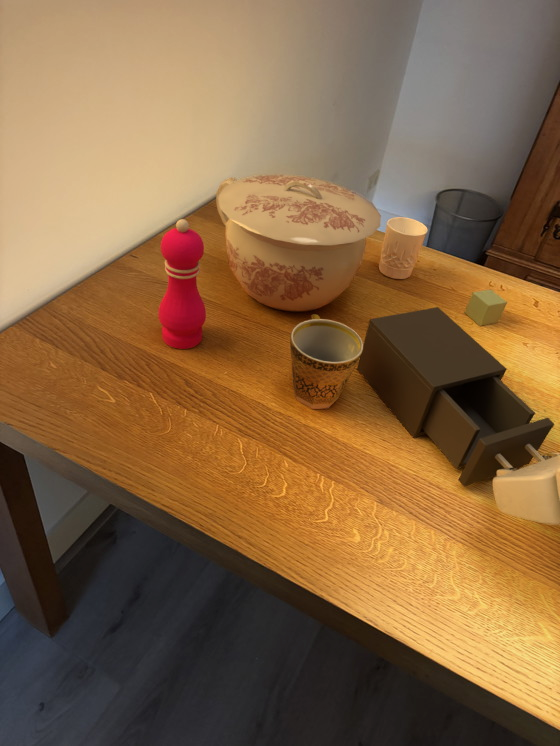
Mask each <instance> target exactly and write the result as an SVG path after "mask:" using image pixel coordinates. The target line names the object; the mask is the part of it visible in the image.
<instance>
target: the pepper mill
mask: <svg viewBox="0 0 560 746" xmlns="http://www.w3.org/2000/svg"><path fill="white" fill-rule="evenodd" d="M160 252H161V255H162V257H163V258H164V272H165V273H166V274H167V277H168V279H167V288H166V292H165V293H164V296H163V297H162V300H161V301H160V304H159V307H158V320H159V323H160V324H161V325H162V328H161V337H162V340H163V342H164V343H165V344H166V345H167V346H169V347H171V348H173V349H178V350H187V349H191V348H194V347H196V346H198V345H199V344H200V343H201V342H202V340H203V325H204V324H205V323H206V320H207V312H206V306H205V303H204V300H203V299H202V297H201V294H200V292H199V289H198V284H197V277H198V275H199V274H200V272H201V268H200V266H201V262H200V260H202V258H203V256H204V253H205V245H204V241H203V238H202V237H201V235H200V234H199V233H198V232H197V231H195V230H193V229H192V228H190V223H189V222H188V221H187V220H186V219H184V218H181V219H178V220H177V222H176V223H175V227H173V228H171V229H169V230H167V232H165V234H163V236H162V239H161V241H160Z"/></svg>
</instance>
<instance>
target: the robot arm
mask: <svg viewBox="0 0 560 746" xmlns="http://www.w3.org/2000/svg"><path fill="white" fill-rule="evenodd" d="M541 456H542V457H543V458H544V459H545V460H544V461H541V462H538V461H537V462H536V463H532V464H529V465H526V466H523V467H520V468H509V467H506V468H503V469H500V470H497V472H496V473H497V475H496V476H494V477H493V478H492V481H491V482H492V483H491V484H492V491H493V497H494V500H495V504H496V507H497V509H498V510H499V511H500V512H501V513H503V514H505V515H507V516H511V517H514V518H517V519H522V520H525V521H529V522H534V523H538V524H542V525H543V524H544V525H550V526H560V452H552V451H551V452H548V453H545V454H542V455H541Z"/></svg>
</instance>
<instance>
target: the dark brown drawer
mask: <svg viewBox="0 0 560 746" xmlns="http://www.w3.org/2000/svg"><path fill="white" fill-rule="evenodd" d="M535 415H536V412H535V411H534V410H533V409H532V408H531V407H530V406H529V405H528V404H527V403H526V402H525V401H523V400H522V399H521V398H520V397H519V396H518V395H517V394H516V393H515V392H514V391H513V390H511V388H510V387H508V385H506V384H505V383H504V382H503V381H502V379H501V380H500V379H499V378H497V377H496V376H491V377H487V378H484V379H480V380H476V381H472V382H468V383H464V384H460V385H456V386H452V387H448V388H444V389H440V390H437V391H436V393H435V396H434V398H433V401H432V403H431V406H430V408H429V411H428V413H427V416H426V418H425V420H424V423H423V425H422V429H423V430H424V431H425V433H426V435H427V436H428V437H429V439H430V440H431V441H432V442H433V444H434V445H435V446H436V447H437V448H438V449H439V450H440V452H441V453H442V454H443V456H445V457H446V458H447V460H448V461H449V462H450V463H451V465H452V466H453V467H454V468H455V469H456V470H459V469H461V468H463V470H462V472H461V473H460V476H459V478H458V481H459V482H460V484H461V485H462V486H463V487H464V488H465V487H468V486H471V485H473V484H476V483H479V482H482V481H484V480H487V479H491V478H494V477H497V473H496V472H497V470H500V469H503V468H506V467H509V468H516V469H520V468H523V467H526V466H529V465H531V462H532V460H533V459H535V460H536V461H537V463H538V462H541V461H544V460H545V459H544V458H543V457H542V455H541V454H540V452H538V451H539V450H540V448H541V446H542V444H543V443H544V442H545V440H546V438H547V436H548V435H549V434H550V432H551V431H552V429H553V427H554V425H555V423H554V421H552V420H551V419H550V418H549V417H545V418H541V419H539V420H535V421H532V419H533V418H534V416H535Z"/></svg>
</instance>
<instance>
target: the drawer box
mask: <svg viewBox="0 0 560 746" xmlns="http://www.w3.org/2000/svg"><path fill="white" fill-rule="evenodd" d="M356 366H357V367H356V370H357V371H358V372H359V374H360V375H361V376H362V377H363V378H364V380H365V381H366V382H367V384H368V385H369V386H370V387H371V388H372V389H373V390H374V391H375V393H376V394H377V396H378V397H379V398H380V400H382V401H383V403H384V404H385V405H386V406H387V408H388V409H389V411H390V412H391V413H392V414H393V415H394V416H395V417H396V419H397V420H398V421H399V423H400V424H401V425H402V426H403V428H405V430H406V431H407V432H408V433H409V435H410V436H411V437H412V438H413V439H415V438H419V437H422V436H425V435H427V434H426V433H425V431H424V430H423V429H422V425H423V423H424V420H425V418H426V416H427V413H428V411H429V408H430V406H431V403H432V401H433V398H434V396H435V393H436V391H437V390H440V389H444V388H448V387H452V386H456V385H460V384H464V383H468V382H472V381H476V380H480V379H484V378H487V377H491V376H496V377H497V378H499V379H500V380H501V381H502V379H503V378H504V376H505V374H506V372H507V370H508V368H507V367H506V366H504V365H503V364H502V363H501V362H500V361H499V360H498V359H497V358H495V356H494V355H492V354H491V353H490V352H489V351H488V350H487V349H485V347H483V346H482V345H481V344H480V343H478V341H477V340H475V339H474V337H472V336H471V335H470V334H469V333H468V332H467V331H466V330H464V329H463V328H462V327H461V326H460V325H459V324H458V323H457V322H455V320H453V319H452V318H451V317H450V316H448V315H447V313H445V311H443V310H442V309H441V308H440V307H439V306H436V307H431V308H430V307H429V308H424V309H419V310H414V311H408V312H407V311H406V312H403V313H396V314H390V315H384V316H380V317H374V318H369V322H368V326H367V330H366V334H365V337H364V341H363V351H362V353H361V356H360V358H359V360H358V362H357V365H356Z"/></svg>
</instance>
